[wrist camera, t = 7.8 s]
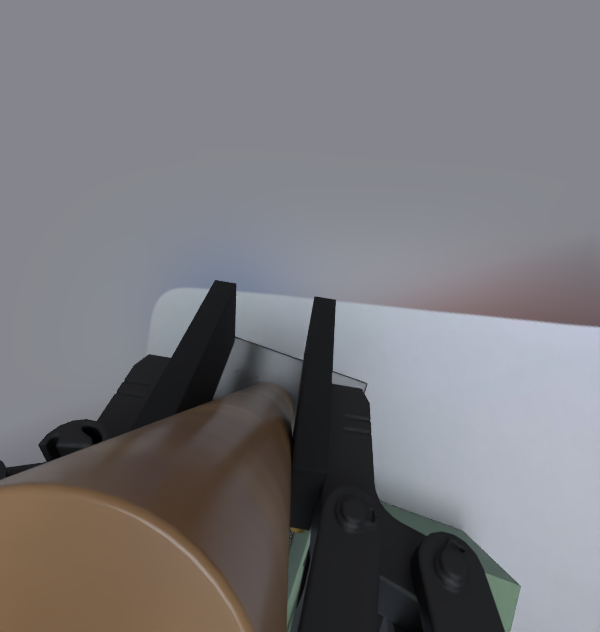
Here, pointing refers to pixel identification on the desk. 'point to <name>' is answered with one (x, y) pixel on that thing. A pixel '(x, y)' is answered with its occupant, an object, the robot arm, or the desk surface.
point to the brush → (163, 517)
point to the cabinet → (498, 579)
